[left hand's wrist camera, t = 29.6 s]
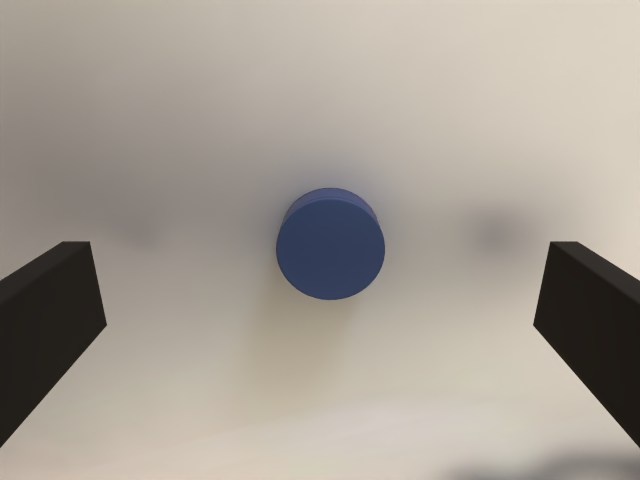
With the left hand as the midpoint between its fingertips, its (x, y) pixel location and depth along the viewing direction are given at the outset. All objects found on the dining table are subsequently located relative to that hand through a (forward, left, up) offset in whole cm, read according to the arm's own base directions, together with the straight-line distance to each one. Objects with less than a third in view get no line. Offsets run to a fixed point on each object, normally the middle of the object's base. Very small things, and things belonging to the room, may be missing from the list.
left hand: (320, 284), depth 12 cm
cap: (0, 0, -3) cm, 3 cm away
